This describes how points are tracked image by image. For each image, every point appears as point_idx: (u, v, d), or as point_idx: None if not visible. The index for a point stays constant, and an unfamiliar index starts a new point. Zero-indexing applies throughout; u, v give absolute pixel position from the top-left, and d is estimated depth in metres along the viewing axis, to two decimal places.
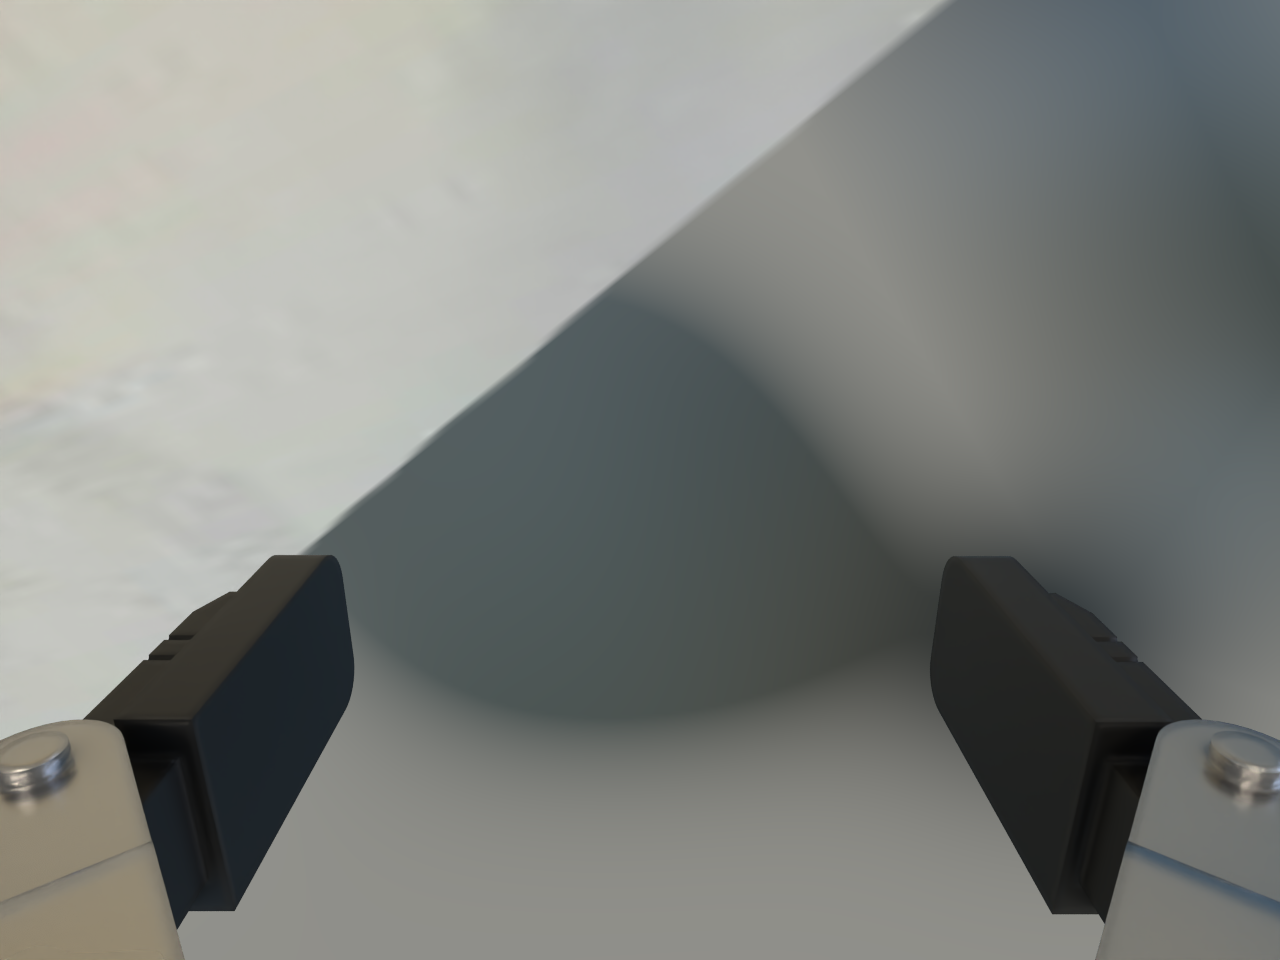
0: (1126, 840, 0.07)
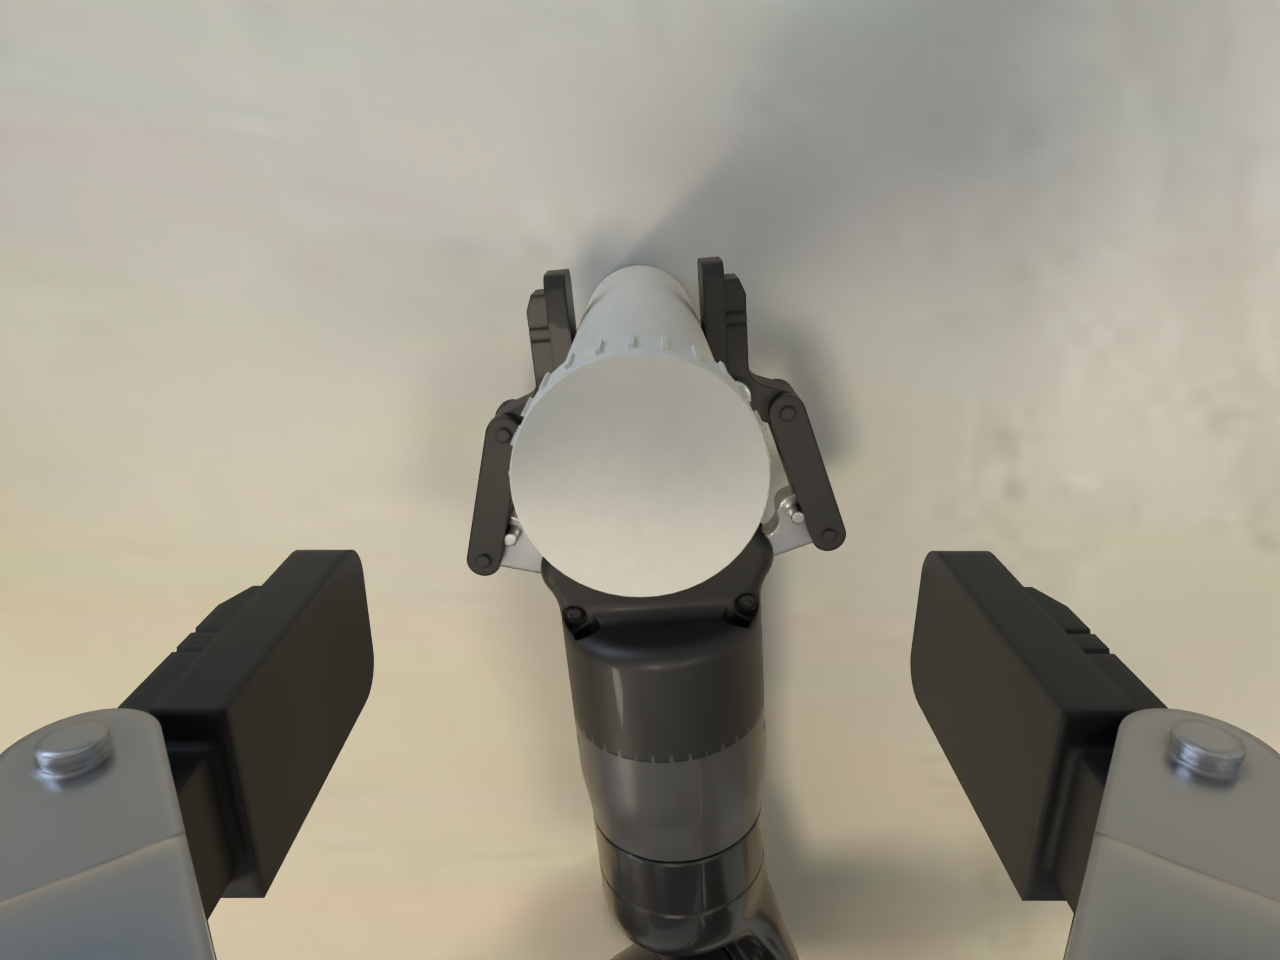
0: (1091, 826, 0.07)
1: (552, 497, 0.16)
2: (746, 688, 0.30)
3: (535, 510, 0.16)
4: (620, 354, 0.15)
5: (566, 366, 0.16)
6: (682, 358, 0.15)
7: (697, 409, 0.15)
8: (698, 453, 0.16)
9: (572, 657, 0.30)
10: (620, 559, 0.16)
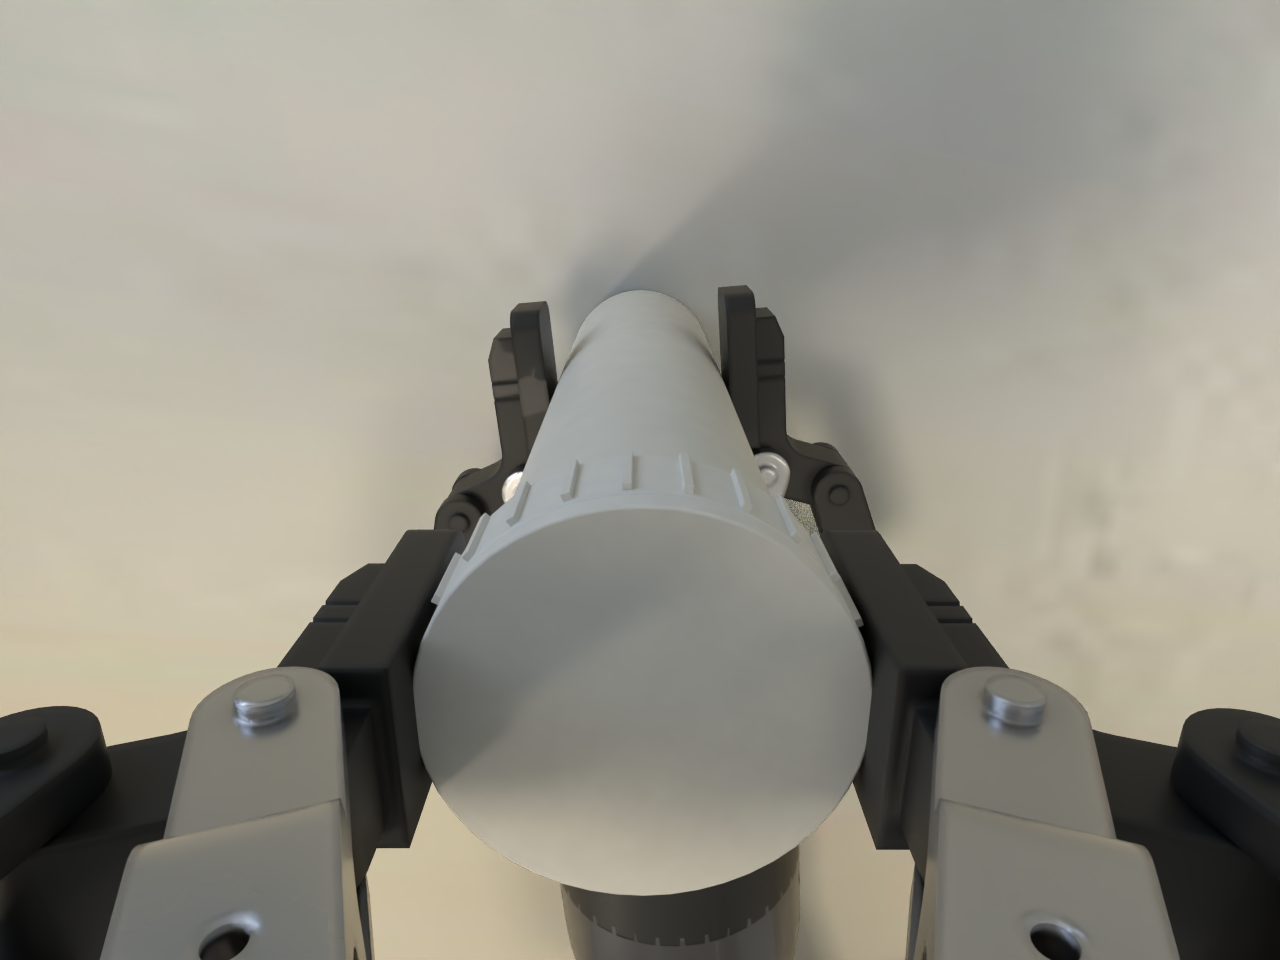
0: (922, 775, 0.08)
1: (488, 744, 0.09)
2: None
3: (458, 765, 0.09)
4: (606, 509, 0.08)
5: (510, 521, 0.09)
6: (721, 514, 0.08)
7: (747, 603, 0.08)
8: (747, 674, 0.09)
9: None
10: (608, 839, 0.10)
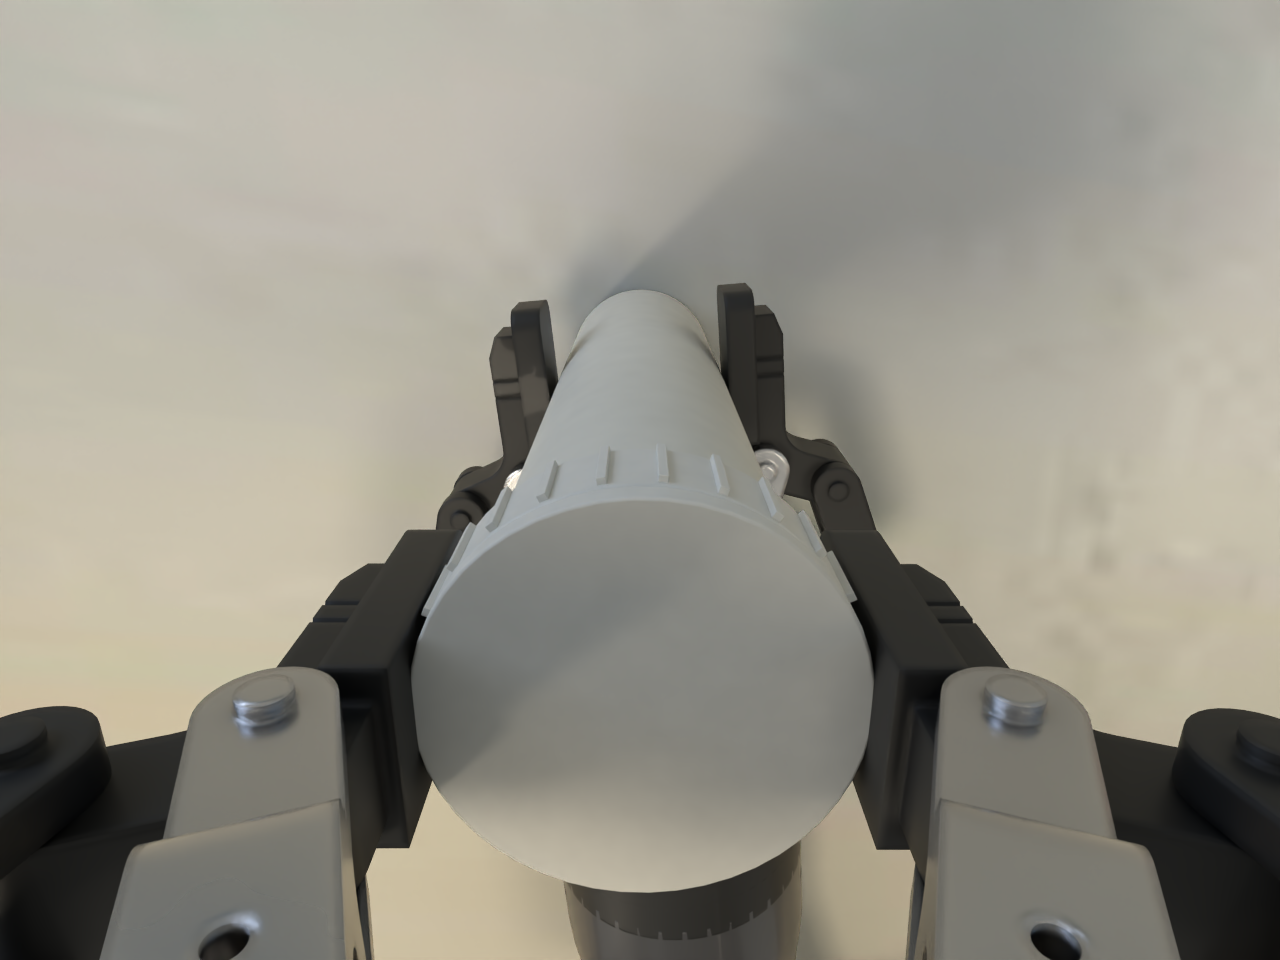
0: (923, 775, 0.08)
1: (712, 827, 0.09)
2: None
3: (741, 846, 0.09)
4: None
5: None
6: None
7: (482, 665, 0.09)
8: (559, 641, 0.09)
9: None
10: (800, 706, 0.09)
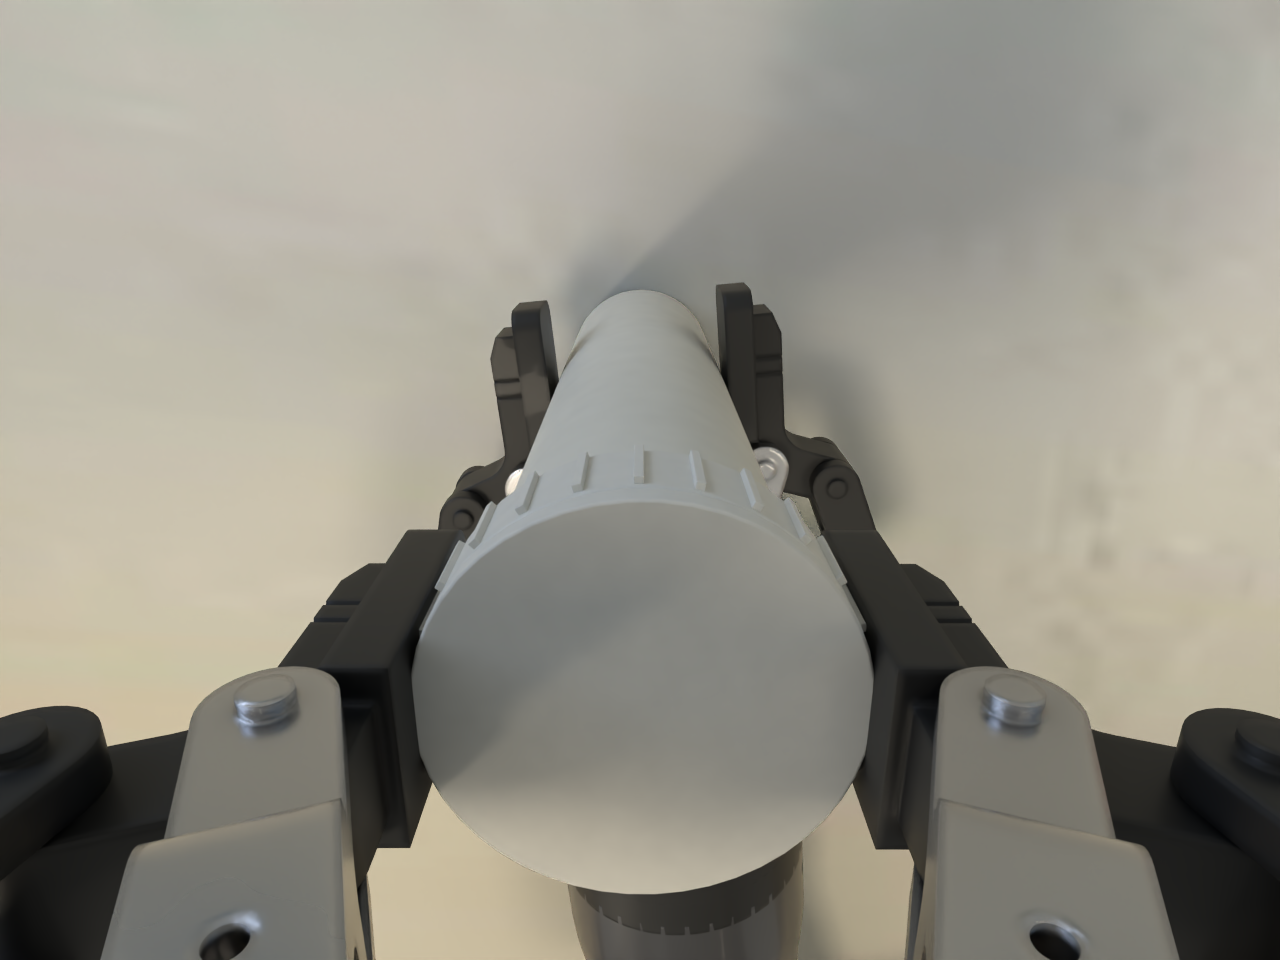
0: (922, 775, 0.08)
1: (763, 617, 0.09)
2: None
3: (779, 583, 0.08)
4: None
5: None
6: (697, 884, 0.10)
7: (632, 847, 0.10)
8: (587, 798, 0.09)
9: None
10: (585, 583, 0.08)
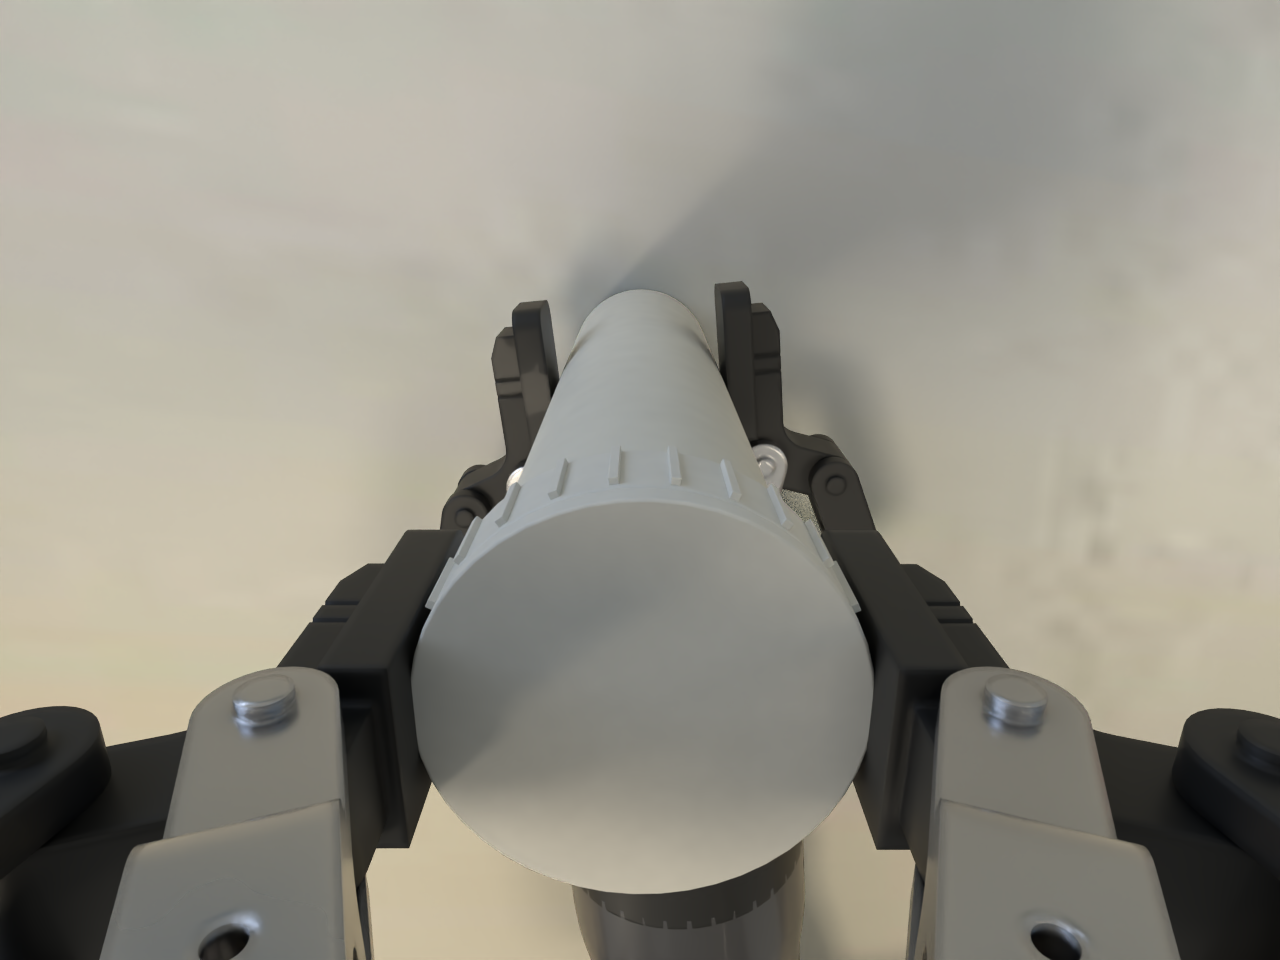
0: (923, 775, 0.08)
1: (498, 647, 0.09)
2: None
3: (456, 647, 0.09)
4: (776, 535, 0.08)
5: (674, 480, 0.08)
6: (848, 603, 0.09)
7: (806, 684, 0.09)
8: (754, 738, 0.09)
9: None
10: (520, 791, 0.09)
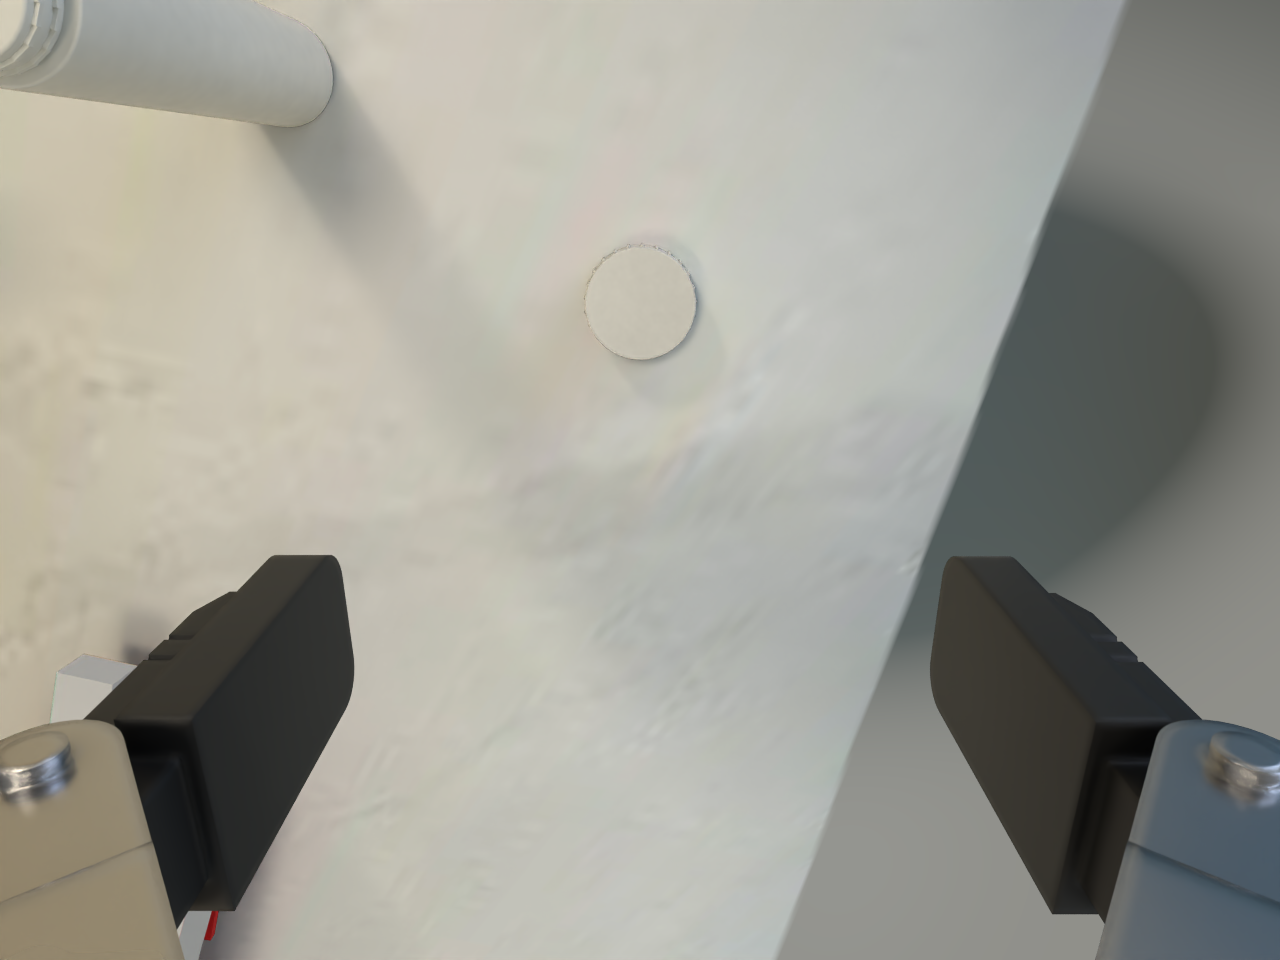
0: (1126, 840, 0.07)
1: (632, 342, 0.38)
2: None
3: (634, 351, 0.38)
4: (587, 290, 0.37)
5: (585, 312, 0.38)
6: (598, 267, 0.37)
7: (620, 270, 0.37)
8: (638, 277, 0.37)
9: None
10: (670, 327, 0.38)
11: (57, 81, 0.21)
